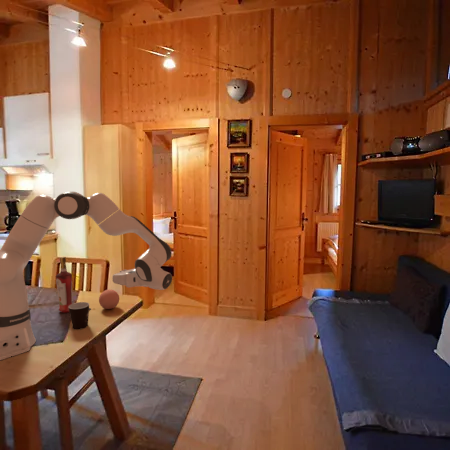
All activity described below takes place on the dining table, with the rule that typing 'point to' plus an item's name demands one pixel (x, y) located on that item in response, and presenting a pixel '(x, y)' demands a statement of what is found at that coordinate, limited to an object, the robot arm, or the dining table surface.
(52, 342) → the dining table surface
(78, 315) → the coffee mug
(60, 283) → the liquor
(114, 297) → the ball
